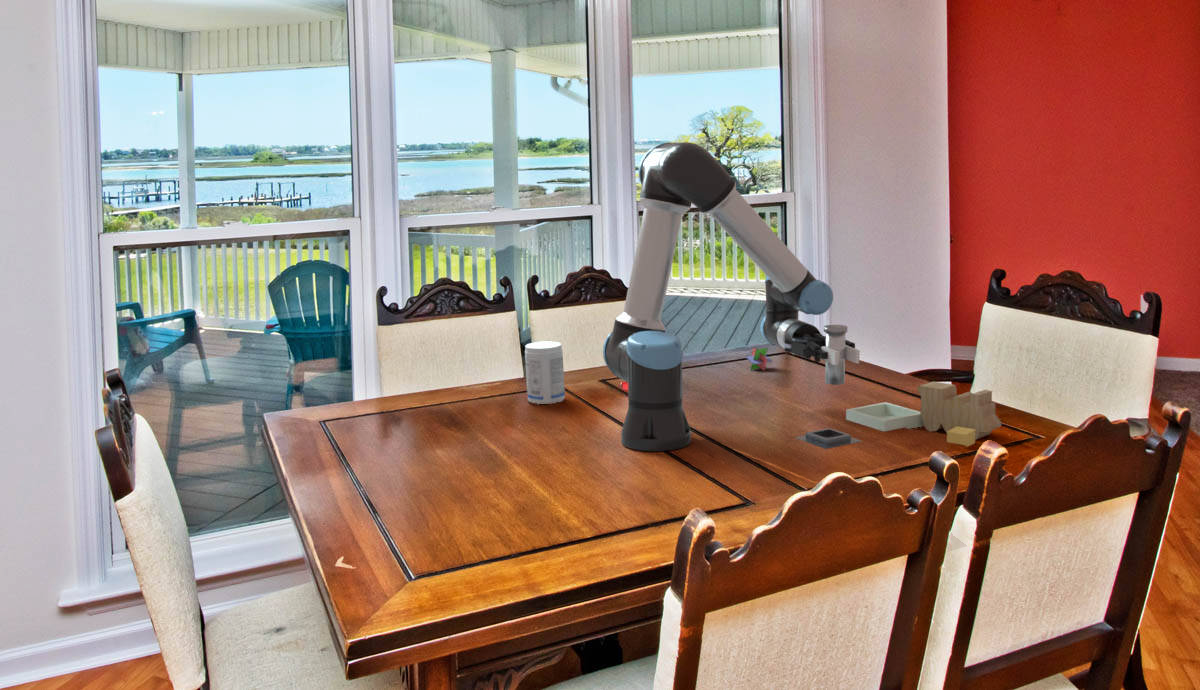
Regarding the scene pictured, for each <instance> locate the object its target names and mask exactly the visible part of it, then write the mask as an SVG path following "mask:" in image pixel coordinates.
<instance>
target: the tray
mask: <svg viewBox="0 0 1200 690" xmlns="http://www.w3.org/2000/svg"><path fill="white" fill-rule="evenodd" d="M845 411H846V412H845V420H846V421H849V422H853V423H855V424H856V423H857V424H859V425H863V426H865V427H869V428H872V429H875V430H878V431H881V432H889V431H894V430H898V429H903V428H905V429H908V430H912V429H911V428H915V429H917V428H916V427H920V428H923V427H922V426H924V424H923V419H921V417H920V413H921V411H919V410H915V409H913V408H912V409H911V408H908V407H905V406H900V405H898V404H893V403H892V402H891V403H890V402H887V401H884V402H880V403H879V402H878V403H874V404H868V405H864V406H863V405H862V406H859V407H858V406H857V407H853V408H847V409H846V410H845Z"/></svg>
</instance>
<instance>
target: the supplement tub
mask: <svg viewBox="0 0 1200 690" xmlns="http://www.w3.org/2000/svg"><path fill="white" fill-rule="evenodd" d="M563 353H564V352H563V347H562V343H561V342H558V341H550V340H549V341H548V340H547V341H546V340H545V341H535V342H530V343H526V345H525V349H524V359H525V360H524V361H525V362H524V363H525V375H526V376H525V377H526V392H527V400H528V402H529V403H531V402H532V403H531V404H533V403H537V404H536V405H539V404H549V405H551V404H550V403H554V404H557V403H556V402H559V403H561V402H563V401H564V400H565V397H566V394H565V393H566V391H565V376H564V375H565V374H564V372H565V371H564V355H563Z"/></svg>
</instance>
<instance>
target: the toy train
mask: <svg viewBox="0 0 1200 690" xmlns="http://www.w3.org/2000/svg"><path fill="white" fill-rule="evenodd" d="M916 390H917V392H918V394H919V395H920V412H921V413H920V417H921V419H923V424H924V428H925V429H926V430H927V431H928V432H932V431H934V432H937V431H939V430H942V429H943V430H944V431H945V432H946V434H947V431H949V430H951V429H953V428H955V427H957V426H958V427H964V428H970V429H975V441H976V440H978V439H981V438H983V437H986V436H988V435H991V434H992V431H994V430H996V429H999V428H1001V427H1002V421H1001V420H1000V419H999V417H998V416H997V414H996V401H993V400H992V399H993V397H992V396H993V391H992V390H989V389H982V390H980V391H977V392H974V393H973V392H972V391H967V392H964V393H961V394H958V395H957V386H956V384H951V383H945V382H939V381H930V382H927V383H923V384H920V385H918V386H917V388H916Z"/></svg>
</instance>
